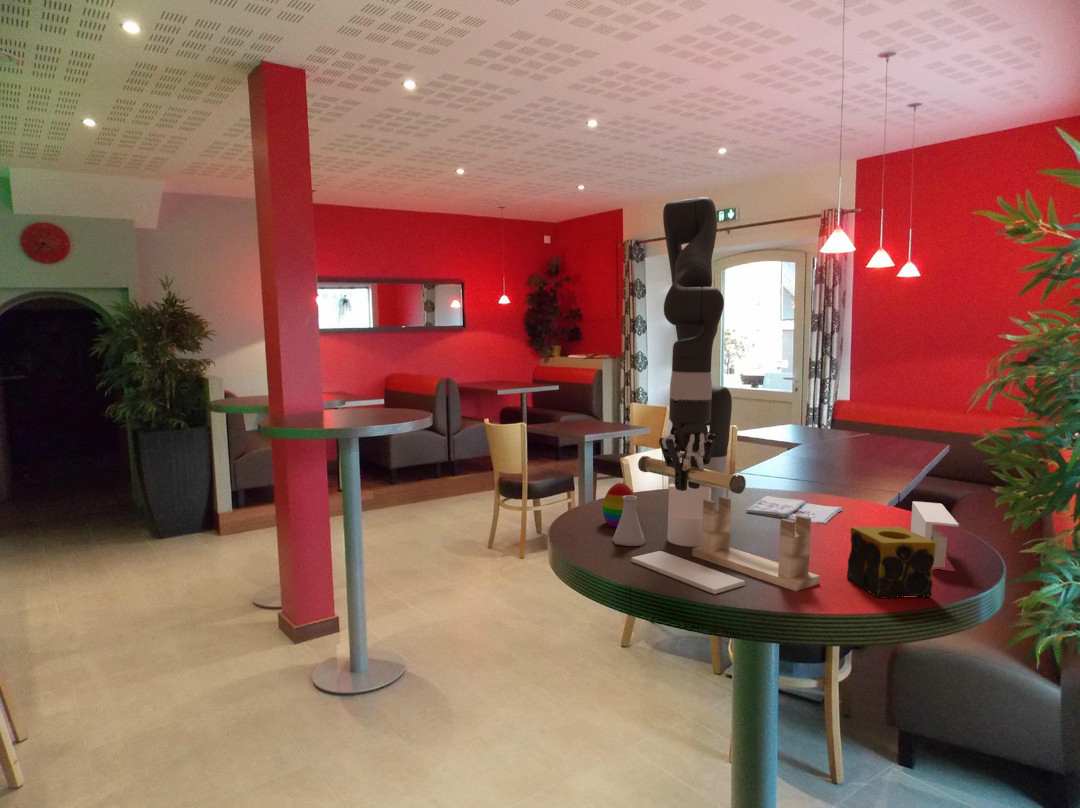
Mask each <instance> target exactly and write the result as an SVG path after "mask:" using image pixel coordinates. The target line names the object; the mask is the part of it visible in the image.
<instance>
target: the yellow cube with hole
mask: <svg viewBox="0 0 1080 808" xmlns="http://www.w3.org/2000/svg"><path fill="white" fill-rule="evenodd" d="M850 545H851V546H850V548H851V549H850V553H849V557H848V560H847V571H846V572H847V573H846V579H847V578H848V579H847V580H849V579H850V580H851V581H850V580H849V581H850V582H852V581H853V582H854V583H856V584H857V586H858V585H859V586H860V587H859V586H858V587H859V588H861V587H862V589H863V590H864V589H865V590H864V591H866V590H867V591H870V592H871V593H872V594H874V595H873V596H874V597H875V596H876V597H875V598H877V597H897V596H898V597H902V596H903V597H904V596H927V595H929V596H931V597H932V590H933V589H932V588H933V571H934V569H933V563H934V557H935V542H933V541H931V540H929V539H927V538H925V537H922V536H920V535H918V534H916V533H913V532H911V530H908V529H907V528H904V527H902V526H851V528H850ZM853 582H852V583H853ZM854 583H853V584H854ZM856 584H855V585H856ZM867 591H866V592H867ZM871 593H870V594H871ZM872 594H871V595H872Z"/></svg>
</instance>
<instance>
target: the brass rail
mask: <svg viewBox="0 0 1080 808" xmlns="http://www.w3.org/2000/svg"><path fill="white" fill-rule="evenodd" d="M637 467H638V469H639V471H640V472H642V473H650V474H651V473H652V474H656V475H660V476H665V477H669V478H673V479H675V469H674V468H672V467H668V466H667V465H666V462H665V460H663V459H662V460H661V459H658V458H652V457H651V456H648V455H642V456H641V457H639V460H638V462H637ZM686 471H688V473H687V481H690V482H694V483H699V484H703V485H707V486H712V487H716V488H720V489H725V490H728V492H732V493H733V494H738V495H740V494H742V493H743V492H744V490H745V489H746V485H747V483H746V482H747V481H746V478H745V476H744V475H742V474H741V475H740V474H731V473H730V474H729V473H727V474H726V473H721V472H717V471H712V470H707V469H702V468H697V467H692V466H687V470H686Z"/></svg>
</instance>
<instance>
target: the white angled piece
mask: <svg viewBox="0 0 1080 808" xmlns="http://www.w3.org/2000/svg"><path fill="white" fill-rule="evenodd" d="M911 504H912V505H911V518H910V519H911V522H910V531H911V532H913V533H916V534H918V535H920V536H922V537H925V538H927V539H929V540H931V541H933V542H935V557H934V563H933V567H945V557H946V556H947V545H948V538H947V537H946V535H944V534H942V533H941V532H939V530H937V529H935V527H936V526H937V525H938V526H946V527H947V526H948V527H957V528H959V527H960V524H959V522H957V520H956V519H955V518H954V517H953V515H951V513H950V512H949V511H948V510H947V509H946V507H945V506H944V504H942V503H939V502H938V503H937V502H928V501H927V502H926V501H912V503H911Z"/></svg>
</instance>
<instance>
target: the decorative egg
mask: <svg viewBox="0 0 1080 808" xmlns="http://www.w3.org/2000/svg"><path fill="white" fill-rule="evenodd" d="M623 496H636V495H635V494H634V491H633V490H632V488H630V487H629V486H628V485H627V484H626V483H623V482H618V483H615V484H613V485H612V486H611V487H609V489H608V491H607V492H606V494H605V496H604V499H603V502H602V515H603V518H604V520H605V522H606V523H607V525H609V526H610V527H613V528H617V527H618V524H619V521H620V518H621V516H622V512H623V507H624V500H623V498H622V497H623ZM637 502H638V501H637V500H636V510H637V511H638V503H637Z"/></svg>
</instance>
